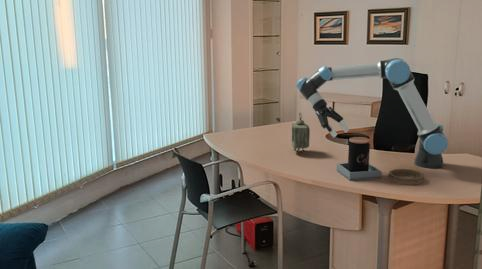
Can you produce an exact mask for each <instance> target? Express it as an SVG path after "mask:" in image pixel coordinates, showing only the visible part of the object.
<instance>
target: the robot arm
mask: <svg viewBox="0 0 482 269" xmlns="http://www.w3.org/2000/svg"><path fill="white" fill-rule="evenodd" d="M365 78H366V79H369V78H380V79H387V80H388V82H389V83H390V86H391V87H392V89H393V90H395V91H397V92H398V94H399V96H400V99H401V100H402V102H403V103H404V105H405V107H406V109H407V111H408V113H409V114H410V116H411V119H412V120H413V122H414V124H415V126H416V128H417V134H416V135H417V136H418V138H419V139H418V140H419V142H418V150H417V153H416V156H415V158H414V161H413V162H414V165H416V166H418V167H421V168H427V169H438V168H442V167H444V158H443V156H442V153H444V152H445V151H446V150H447V148H448V145H449V144H448V143H449V141H448V138H447V136H445V133H444V126H443V125H442V124H439V123H436V122H434V121H435V120H433V117H432V116H431V114H430V112H429V109H428V108H427V106H426V104H425V103H424V100H423V99H422V97H421V95H420V92H419V91H418V89H417V87H416V85H415V83H414V82H415V77H414V75H413V73H412V70H411V68H410V65H409V64H408V63H407V62H406V61H405V60H403V59H402V58H399V57H396V58H395V57H394V58H391V59H390V58H389V59H386V60H379V61H378V62H375V63H362V64H361V63H360V64H352V65H341V66H331V67H327V66H326V65H323V66H321V67H320V68H319V67H318V69H317V70H316V72H315V73H313V75H311V76H310V77H309V78H307V77H302V78H301V79H299V80H298V81H297V83H296V88H297V89H298V91H299V92H300V94H301V95H302V96H303V98H305V100H306V101H307V102H308V105H310V107H312V109H313V111H315V115H316V116H317V119H318V120H319V123H320V125H321V128H323V129H325V130H327V132H329V134H330V135H331V137H332V138H335V137H337V135H338V133H337V132H336V130H335V129H334V128H333V126H332V125H331V124H329V120H328V118H331V119H332V120H334V121H335V122H336V123H338V126H339V127H340V128H341V129H342V130H343V132H344V133H347V132H349V131H350V128H349V127H348V125H346V124H345V122H344V121H343V120H344V117H343V116H341V115H340V114H339V113H338V112H336V111H335V109H333V108H332V106H329V107H327V105H328V103H327V101H325V98H323V97H322V95H321V94H320V92H319V91H318V89H319V88H320V87H321V86H323V85H324V84H326V83H327V82H329V81H330V82H331V81H343V80H354V79H365Z"/></svg>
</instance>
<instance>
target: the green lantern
mask: <svg viewBox="0 0 482 269" xmlns="http://www.w3.org/2000/svg"><path fill="white" fill-rule="evenodd" d="M298 114H299V115H298V116H299V118H298V119H297V121H296V122H294V123H293V122H292V124H291V146H292V148H293V151H296V150H297V151H296V152H295V155H299V151H300V149H302V150H301V152H302V153H305V149H307V148H309V147H310V135H311V134H310V131H311V130H310V126H309V125H308V124H307V123H305V120H303V119H302V117H303V116H302V112H301V111H300V112H299V113H298Z"/></svg>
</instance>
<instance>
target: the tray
mask: <svg viewBox="0 0 482 269" xmlns="http://www.w3.org/2000/svg"><path fill="white" fill-rule="evenodd" d="M336 172H338V173H339V174H340V175H341V176H343V177H344V178H345V179H347V180H348V181H350V182H351V181H358V180H359V181H360V180H361V181H363V180H375V179H381V178H382V170H380V169H379V168H377V167H376V166H374V165H372V164H371V163H369V171H362V172H350V171H348V162H339V163H336Z"/></svg>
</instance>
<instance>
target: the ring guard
mask: <svg viewBox="0 0 482 269" xmlns="http://www.w3.org/2000/svg"><path fill="white" fill-rule="evenodd" d="M400 176H408V177H400ZM410 176H411V178H410ZM388 180H389V181H391V182H393V183H395V184H399V185H406V184H407V185H406V186H408V185H410V186H412V185H415V184H416V185H420V184H422V183H424V173H423V172H421V171H418V170H414V169H410V168H409V169H408V168H394V169H391V170H389V171H388Z"/></svg>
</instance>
